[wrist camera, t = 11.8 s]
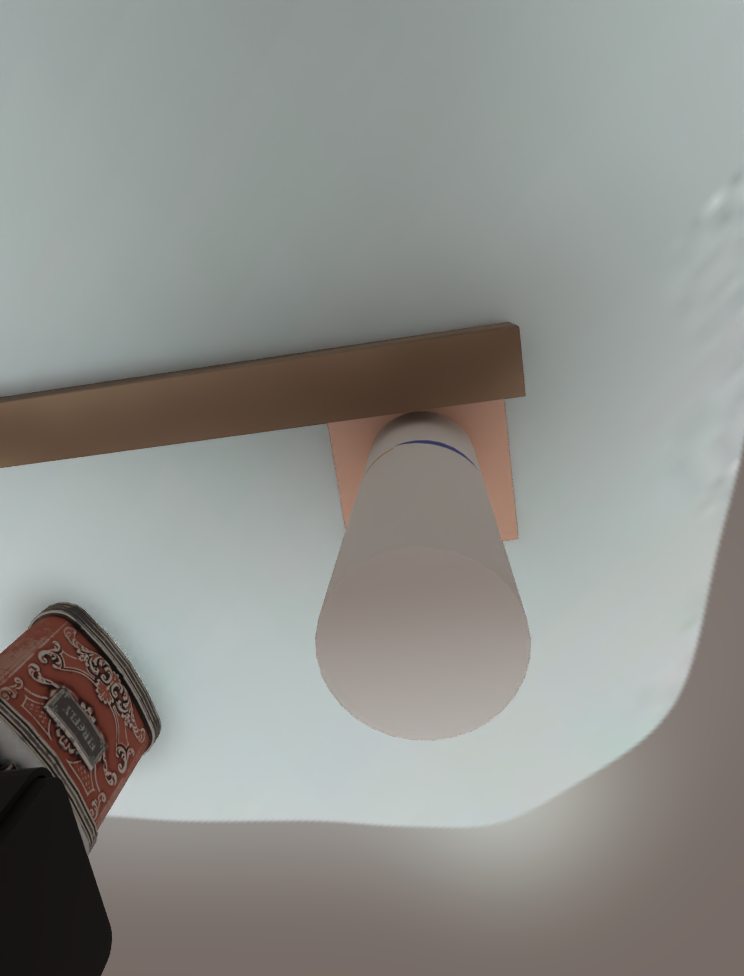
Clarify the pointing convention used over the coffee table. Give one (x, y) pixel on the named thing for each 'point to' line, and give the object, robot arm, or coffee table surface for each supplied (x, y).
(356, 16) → the coffee table surface
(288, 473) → the coffee table surface
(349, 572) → the tube
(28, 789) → the robot arm
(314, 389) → the walnut straightedge
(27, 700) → the lighter
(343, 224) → the coffee table surface
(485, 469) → the end pad
